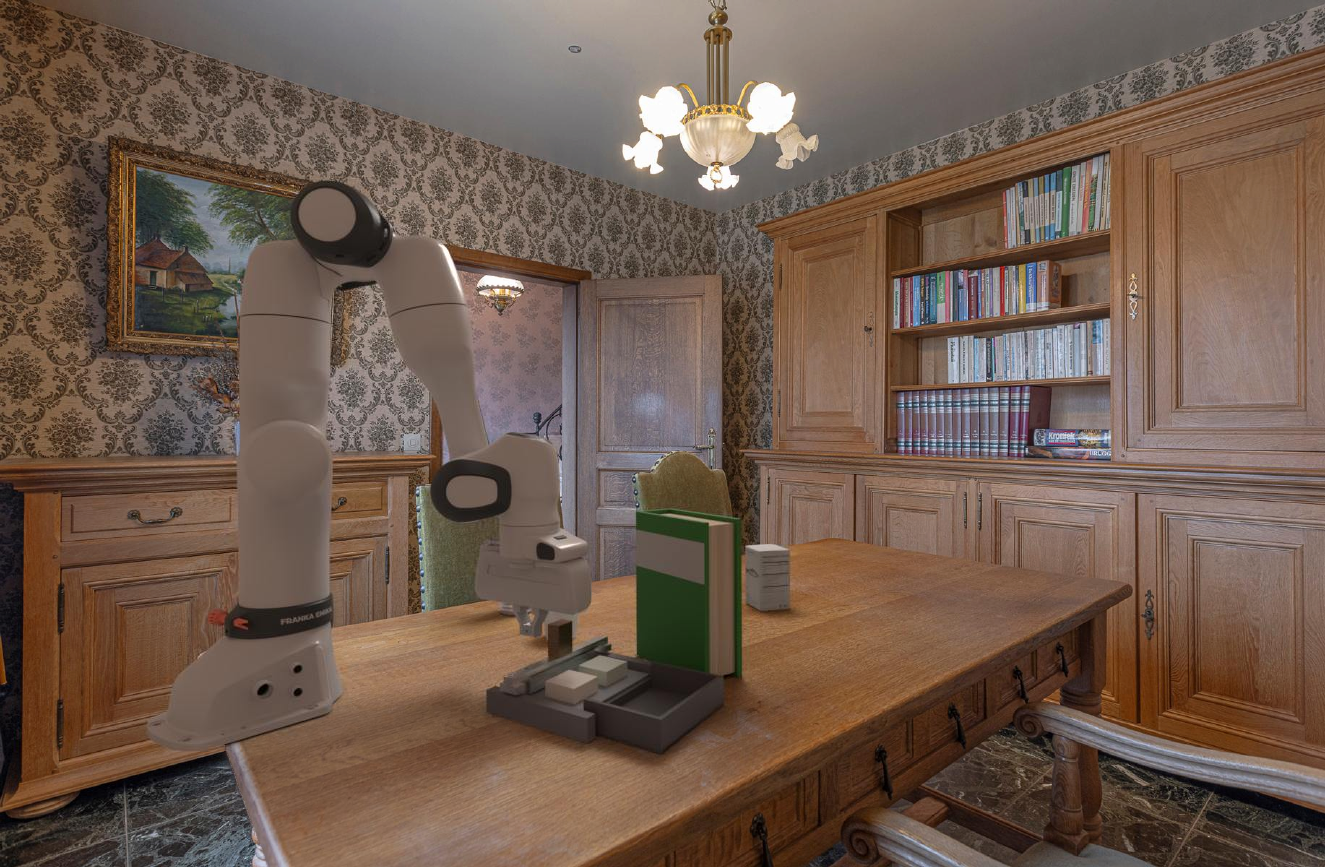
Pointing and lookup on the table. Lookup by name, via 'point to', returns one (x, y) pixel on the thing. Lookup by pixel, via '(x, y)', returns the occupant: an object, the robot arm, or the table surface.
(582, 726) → the grey railed tray
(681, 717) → the box
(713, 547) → the hardback book
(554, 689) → the cream tile
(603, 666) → the sage tile
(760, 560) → the supplement box
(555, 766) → the table surface
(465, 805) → the table surface
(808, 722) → the table surface
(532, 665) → the bar
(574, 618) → the white cup
